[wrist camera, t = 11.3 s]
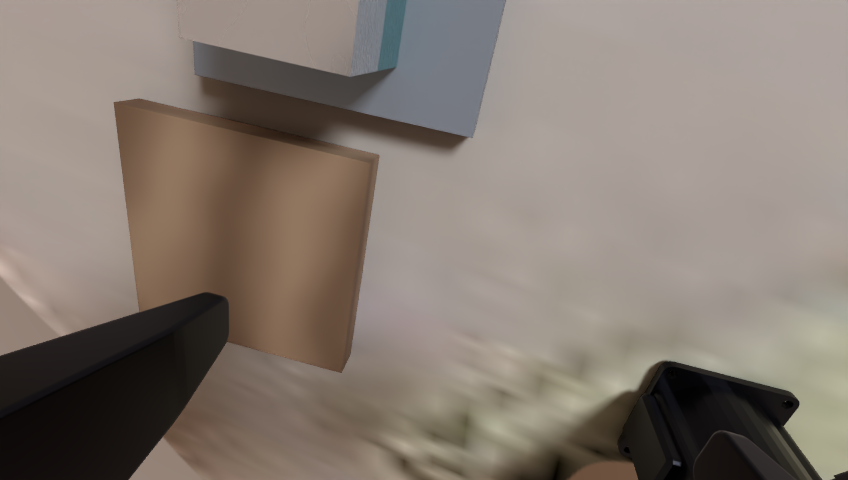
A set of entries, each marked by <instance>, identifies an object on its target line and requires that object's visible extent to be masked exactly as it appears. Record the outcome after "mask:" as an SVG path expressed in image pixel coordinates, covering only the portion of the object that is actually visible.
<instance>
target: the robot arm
mask: <svg viewBox="0 0 848 480" xmlns="http://www.w3.org/2000/svg"><path fill="white" fill-rule="evenodd" d="M228 337H229V301H228V299H227V298H226V297H225V296H221V295H218V294H214V293H210V292H203V293H200V294H196V295H193V296H190V297H187V298H184V299H180V300H177V301H174V302H171V303H168V304H164V305H161V306H158V307H155V308H152V309H148V310H145V311H142V312H139V313H136V314H132V315H129V316H126V317H123V318H120V319H116V320H113V321H110V322H107V323H104V324H100V325H97V326H94V327H91V328H87V329H84V330H81V331H78V332H75V333H71V334H68V335H65V336H62V337H59V338H56V339H52V340H49V341H46V342H43V343H39V344H37V345H33V346H30V347H27V348H23V349H20V350H17V351H14V352H11V353H8V354H4V355H1V356H0V480H129V479H130V477H131V476H132V475H133V473H134V472H135V471H136V470H137V468H138V467H139V466H140V464H141V463H142V462H143V461H144V460H145V458H146V457H147V456H148V455H149V453H150V452H151V451H152V450H153V448H154V447H155V446H156V444H157V443H158V442H159V441H160V439H161V438H162V437H163V436H164V434H165V433H166V432H167V431H168V429H169V428H170V427H171V426H172V424H173V423H174V422H175V420H176V419H177V418H178V416H179V415H180V414H181V412H182V411H183V409H184V408H185V406H186V405H187V403H188V402H189V400H190V399H191V397H192V396H193V394H194V392H195V391H196V389H197V388H198V386H199V385H200V383H201V382H202V380H203V378H204V377H205V375H206V374H207V372H208V371H209V369H210V368H211V366H212V364H213V363H214V361H215V360H216V358H217V357H218V355H219V353H220V352H221V350H222V349H223V347H224V346H225V344H226V342H227V340H228ZM669 371H674V372H673V373H668V372H669ZM784 401H786V402H784ZM799 405H800V404H799V401H798V399H797V398H796V397H795V396H794V395H793V394H792V393H791V392H789V391H786V390H782V389H778V388H774V387H770V386H766V385H762V384H758V383H755V382H751V381H747V380H743V379H739V378H735V377H731V376H727V375H724V374H720V373H716V372H712V371H708V370H704V369H700V368H696V367H693V366H689V365H685V364H681V363H677V362H672V361H669V362H665V363H663V364H662V365H661V366H660V367H659V369H658V370H657V372H656V374H655V376H654V378H653V379H652V381H651V383H650V385H649V387H648V388H647V390H646V392H645V393H644V394H643V395H642V396H641V397H640V398H639V400H638V402H637V404H636V405H635V407H634V409H633V411H632V413H631V414H630V416H629V418H628V420H627V422H626V423H625V425H624V427H623V433H622V435H621V437H620V439H619V440H618V443H617V445H618V448H619V451H620V453H621V454H622V455H624V456H627V457H631V458H632V460H633V463H634V467H635V470H636V473H637V476H638V480H822V479H821V477H820V476H819V475H818V473H817V472H816V471H815V469H814V468H813V466H812V465H811V464H810V462H809V461H808V460H807V458H806V457H805V455H804V454H803V453H802V451H801V450H800V449H799V447H798V446H797V445H796V443H795V442H794V440H793V439H792V438H791V436H790V435H789V434H788V432H787V431H786V429H785V428H784V427H783V426H784V425H785V424H786V422H787V421H788V420H789V418H790V417H791V416H792V415H793V413H794V412H795V411H796V410H797V408H798V407H799ZM834 477H835V479H832V480H848V471H846V472H843V473H840V474H837V475H834Z"/></svg>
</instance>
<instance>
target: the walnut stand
mask: <svg viewBox="0 0 848 480" xmlns="http://www.w3.org/2000/svg"><path fill="white" fill-rule="evenodd" d="M114 108H115V117H116V125H117V133H118V141H119V149H120V158H121V166H122V174H123V182H124V190H125V198H126V207H127V215H128V223H129V231H130V239H131V248H132V256H133V264H134V272H135V280H136V289H137V297H138V305H139V312H142V311H145V310H148V309H152V308H155V307H158V306H161V305H164V304H168V303H171V302H174V301H177V300H180V299H184V298H187V297H190V296H193V295H196V294H200V293H203V292H210V293H214V294H218V295H221V296H225V297H226V298H227V299H228V301H229V337H228V340H227V342H231V343H234V344H238V345H242V346H245V347H249V348H253V349H256V350H260V351H264V352H267V353H271V354H274V355H278V356H282V357H285V358H289V359H293V360H296V361H300V362H304V363H307V364H311V365H314V366H318V367H322V368H325V369H329V370H333V371H336V372H340V373H342V371H343V369H344V367H345V365H346V363H347V361H348V359H349V357H350V353H351V346H352V339H353V332H354V325H355V319H356V312H357V305H358V298H359V291H360V284H361V278H362V271H363V264H364V257H365V250H366V243H367V237H368V230H369V223H370V216H371V209H372V202H373V196H374V189H375V182H376V175H377V168H378V161H379V155H377V154H373V153H368V152H364V151H360V150H356V149H351V148H347V147H343V146H339V145H334V144H330V143H326V142H322V141H317V140H313V139H309V138H305V137H300V136H296V135H292V134H288V133H283V132H279V131H275V130H271V129H266V128H262V127H258V126H254V125H249V124H245V123H241V122H236V121H232V120H228V119H224V118H219V117H215V116H211V115H207V114H202V113H198V112H194V111H190V110H185V109H181V108H177V107H173V106H168V105H164V104H160V103H156V102H151V101H147V100H143V99H133V100H126V101H120V102H114Z"/></svg>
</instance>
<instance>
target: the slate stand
mask: <svg viewBox="0 0 848 480" xmlns="http://www.w3.org/2000/svg"><path fill="white" fill-rule="evenodd" d="M505 3H506V0H407V3H406V10H405V16H404V23H403V29H402V35H401V42H400V48H399V55H398V61H397V67H395V68H390V69H385V70H380V71H375V72H371V73H366V74H361V75H356V76H351V77H349V76H345V75H340V74H336V73H332V72H327V71H323V70H318V69H314V68H310V67H305V66H301V65H297V64H292V63H288V62H283V61H279V60H275V59H270V58H266V57H262V56H257V55H253V54H248V53H244V52H240V51H235V50H231V49H227V48H222V47H218V46H214V45H209V44H205V43H200V42H196V41H193V45H194V70H195V75H199V76H203V77H207V78H212V79H216V80H221V81H225V82H229V83H234V84H238V85H242V86H247V87H251V88H256V89H260V90H264V91H269V92H273V93H277V94H282V95H286V96H291V97H295V98H299V99H304V100H308V101H313V102H317V103H321V104H326V105H330V106H334V107H339V108H343V109H348V110H352V111H356V112H361V113H365V114H369V115H374V116H378V117H383V118H387V119H391V120H396V121H400V122H404V123H409V124H413V125H418V126H422V127H426V128H431V129H435V130H440V131H444V132H448V133H453V134H457V135H461V136H466V137H470V138H473V135H474V132H475V128H476V124H477V120H478V115H479V111H480V107H481V103H482V99H483V95H484V90H485V86H486V82H487V78H488V74H489V69H490V65H491V61H492V57H493V53H494V49H495V44H496V40H497V36H498V32H499V28H500V23H501V19H502V15H503V11H504V7H505Z"/></svg>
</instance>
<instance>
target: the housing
mask: <svg viewBox="0 0 848 480" xmlns="http://www.w3.org/2000/svg"><path fill="white" fill-rule="evenodd" d="M177 3H178V23H179V38H183V39H187V40H192V41H196V42H200V43H205V44H209V45H214V46H218V47H222V48H227V49H231V50H235V51H240V52H244V53H248V54H253V55H257V56H262V57H266V58H270V59H275V60H279V61H283V62H288V63H292V64H297V65H301V66H305V67H310V68H314V69H318V70H323V71H327V72H332V73H336V74H340V75H345V76H349V77H351V76H356V75H361V74H366V73H371V72H375V71H380V70H385V69H390V68H395V67H397V61H398V55H399V48H400V42H401V35H402V29H403V23H404V16H405V10H406V3H407V0H177Z"/></svg>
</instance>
